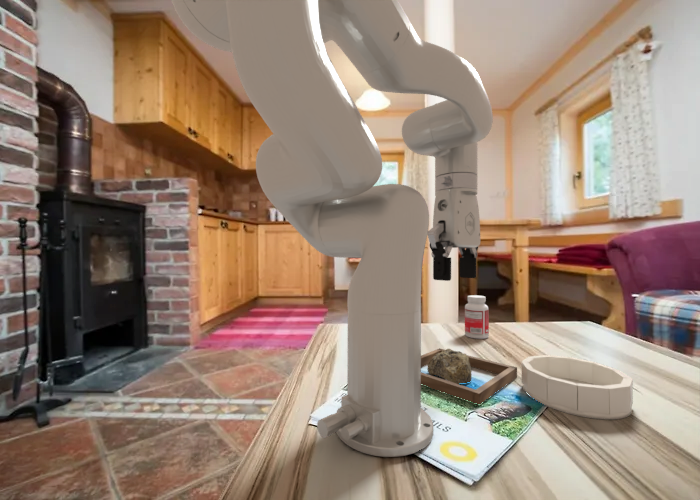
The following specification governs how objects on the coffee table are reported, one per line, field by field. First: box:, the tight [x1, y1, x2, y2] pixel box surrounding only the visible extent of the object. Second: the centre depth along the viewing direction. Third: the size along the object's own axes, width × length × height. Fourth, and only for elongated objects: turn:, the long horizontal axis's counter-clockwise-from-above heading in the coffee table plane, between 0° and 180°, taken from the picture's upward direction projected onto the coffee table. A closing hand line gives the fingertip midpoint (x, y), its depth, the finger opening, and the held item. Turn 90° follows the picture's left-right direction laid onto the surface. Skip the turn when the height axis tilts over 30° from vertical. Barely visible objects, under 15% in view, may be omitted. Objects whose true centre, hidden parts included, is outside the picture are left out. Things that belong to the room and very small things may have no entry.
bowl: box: [521, 354, 634, 421], centre depth 50 cm, size 14×14×4 cm
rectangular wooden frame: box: [421, 348, 518, 405], centre depth 59 cm, size 16×16×2 cm
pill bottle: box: [464, 294, 490, 340], centre depth 87 cm, size 6×6×11 cm
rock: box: [426, 348, 472, 384], centre depth 59 cm, size 7×8×4 cm
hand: (455, 278), depth 59 cm, fingers open, 9 cm apart
